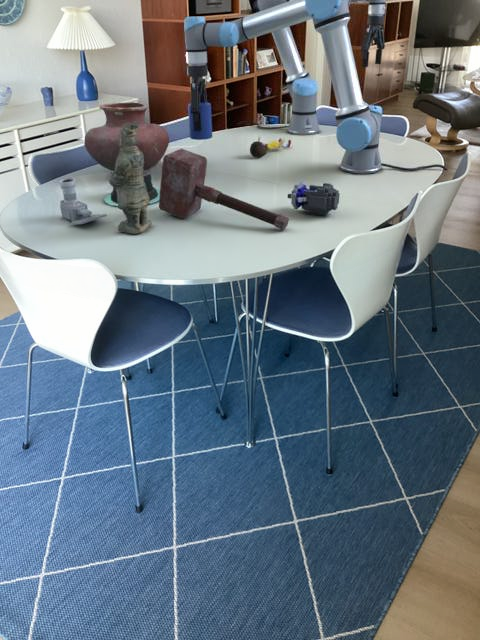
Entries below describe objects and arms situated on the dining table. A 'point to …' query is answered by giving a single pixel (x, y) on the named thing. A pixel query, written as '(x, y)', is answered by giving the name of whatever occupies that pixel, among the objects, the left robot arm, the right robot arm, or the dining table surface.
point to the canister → (205, 122)
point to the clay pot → (105, 138)
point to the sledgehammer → (200, 190)
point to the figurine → (266, 147)
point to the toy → (315, 198)
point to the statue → (131, 182)
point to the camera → (74, 204)
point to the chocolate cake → (152, 192)
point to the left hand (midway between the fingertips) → (371, 65)
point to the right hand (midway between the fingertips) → (200, 128)
